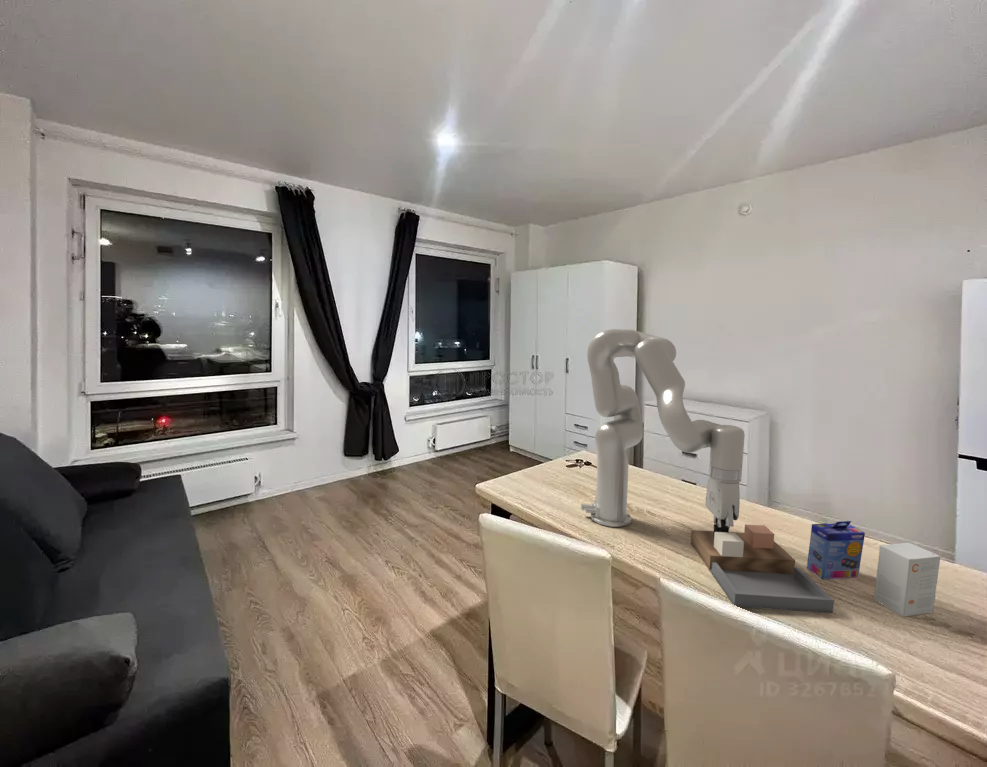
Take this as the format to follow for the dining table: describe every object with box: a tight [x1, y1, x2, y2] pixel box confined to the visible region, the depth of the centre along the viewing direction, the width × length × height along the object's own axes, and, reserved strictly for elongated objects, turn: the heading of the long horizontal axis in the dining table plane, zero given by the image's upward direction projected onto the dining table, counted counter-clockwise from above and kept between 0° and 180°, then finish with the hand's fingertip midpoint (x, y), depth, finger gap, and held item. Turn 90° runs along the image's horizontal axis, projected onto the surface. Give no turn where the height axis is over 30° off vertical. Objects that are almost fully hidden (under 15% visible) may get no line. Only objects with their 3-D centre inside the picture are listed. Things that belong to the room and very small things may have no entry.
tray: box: [709, 562, 835, 614], centre depth 101 cm, size 20×14×3 cm
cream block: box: [714, 532, 744, 557], centre depth 111 cm, size 5×5×4 cm
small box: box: [873, 542, 941, 618], centre depth 95 cm, size 8×6×13 cm
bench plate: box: [690, 529, 797, 574], centre depth 115 cm, size 20×14×4 cm
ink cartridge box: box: [806, 520, 866, 581], centre depth 108 cm, size 10×6×14 cm, turn 95°
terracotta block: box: [743, 524, 775, 549], centre depth 115 cm, size 5×5×4 cm
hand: (720, 539), depth 116 cm, fingers closed
